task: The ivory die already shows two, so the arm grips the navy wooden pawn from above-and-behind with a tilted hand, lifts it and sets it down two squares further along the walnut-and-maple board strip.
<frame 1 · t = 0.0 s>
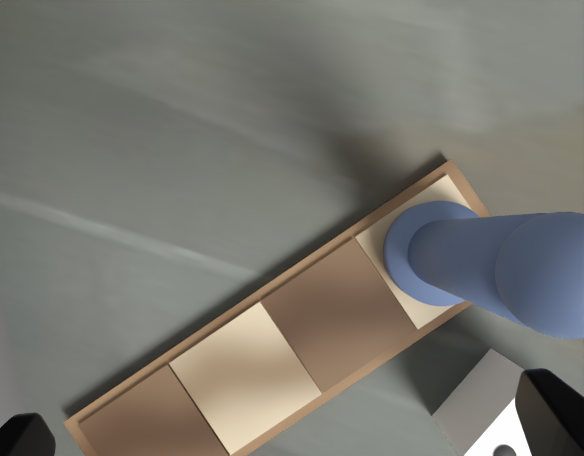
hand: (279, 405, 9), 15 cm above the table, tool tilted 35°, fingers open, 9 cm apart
die: (495, 411, 24), on the table
board: (292, 343, 24), on the table
pawn: (432, 251, 23), point 1 cm above the table, touching board
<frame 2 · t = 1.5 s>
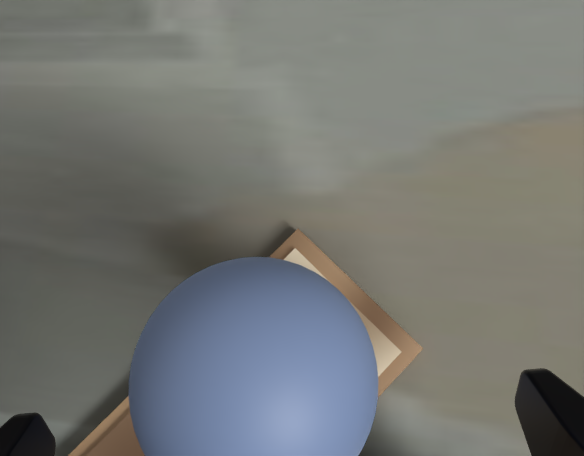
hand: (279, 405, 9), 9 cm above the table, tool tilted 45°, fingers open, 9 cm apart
pawn: (295, 351, 17), point 1 cm above the table, touching board
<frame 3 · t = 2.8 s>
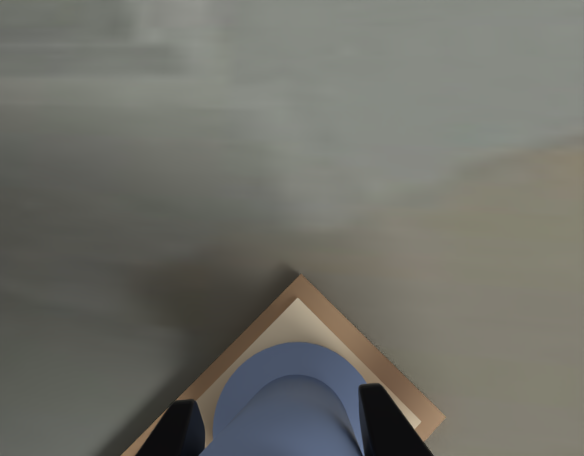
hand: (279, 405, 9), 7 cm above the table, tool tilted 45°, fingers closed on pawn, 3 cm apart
pawn: (298, 420, 15), point 1 cm above the table, touching board, gripper
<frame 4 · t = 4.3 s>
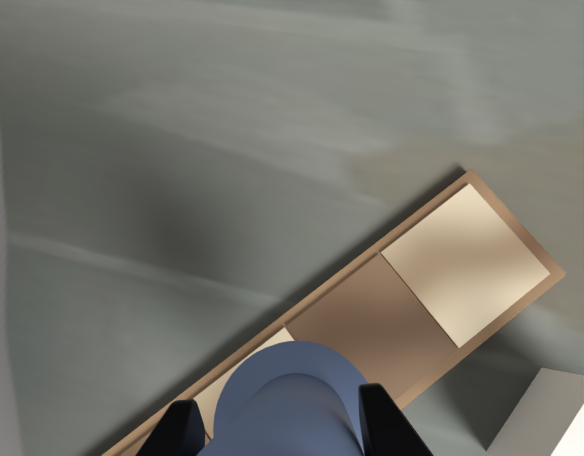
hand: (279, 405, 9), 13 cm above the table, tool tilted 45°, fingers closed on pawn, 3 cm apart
die: (557, 442, 21), on the table
board: (321, 374, 22), on the table
pawn: (298, 419, 15), point 7 cm above the table, touching gripper
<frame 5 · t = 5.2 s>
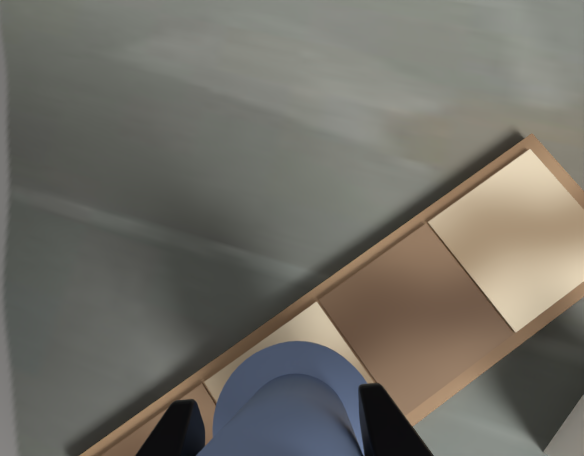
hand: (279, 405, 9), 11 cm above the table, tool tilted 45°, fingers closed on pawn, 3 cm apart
board: (356, 356, 19), on the table
pawn: (297, 419, 15), point 4 cm above the table, touching gripper
when the fingers open (8 cm above the table, at t = 5.9 s): pawn drops 1 cm, resting on board.
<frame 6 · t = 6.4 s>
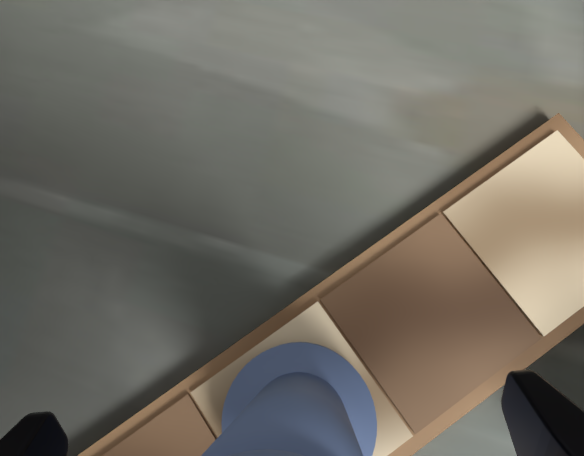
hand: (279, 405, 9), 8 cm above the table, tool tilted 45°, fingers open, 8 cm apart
board: (362, 363, 17), on the table
pawn: (300, 415, 16), point 1 cm above the table, touching board
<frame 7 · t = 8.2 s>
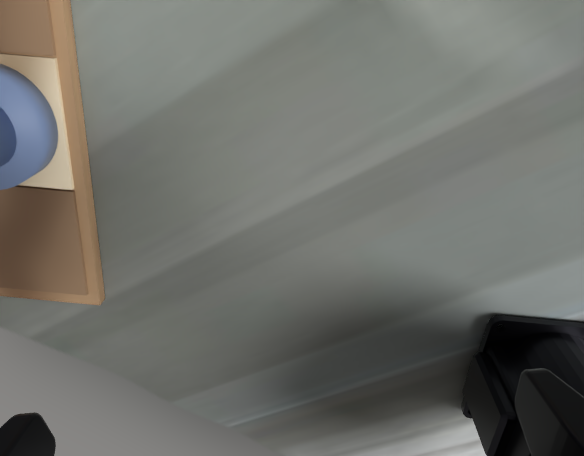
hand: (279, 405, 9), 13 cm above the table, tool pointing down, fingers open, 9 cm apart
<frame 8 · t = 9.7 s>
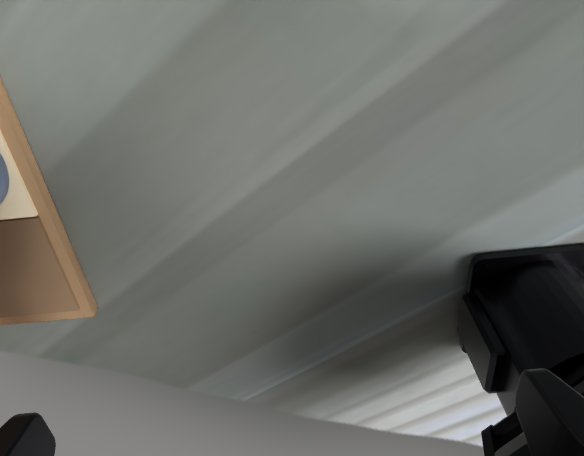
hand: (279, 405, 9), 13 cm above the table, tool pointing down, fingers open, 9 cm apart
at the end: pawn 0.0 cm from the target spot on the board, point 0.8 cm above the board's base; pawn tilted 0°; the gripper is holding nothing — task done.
